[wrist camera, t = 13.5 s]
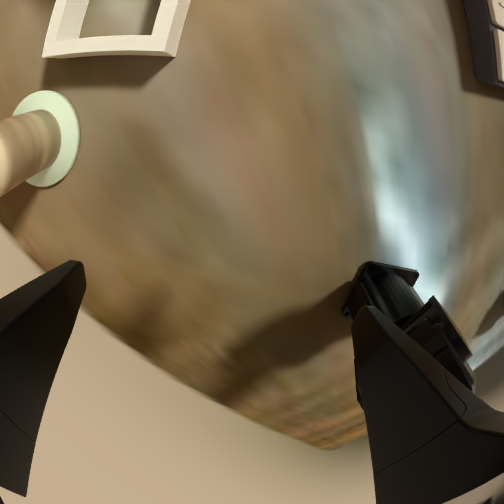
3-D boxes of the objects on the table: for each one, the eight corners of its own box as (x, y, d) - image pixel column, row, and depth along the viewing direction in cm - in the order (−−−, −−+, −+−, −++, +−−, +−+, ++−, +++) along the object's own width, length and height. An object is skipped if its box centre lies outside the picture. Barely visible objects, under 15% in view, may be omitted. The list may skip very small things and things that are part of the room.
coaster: (85, 88, 15) (81, 88, 14) (79, 188, 19) (75, 191, 19) (13, 94, 14) (9, 94, 13) (13, 181, 18) (9, 183, 17)
